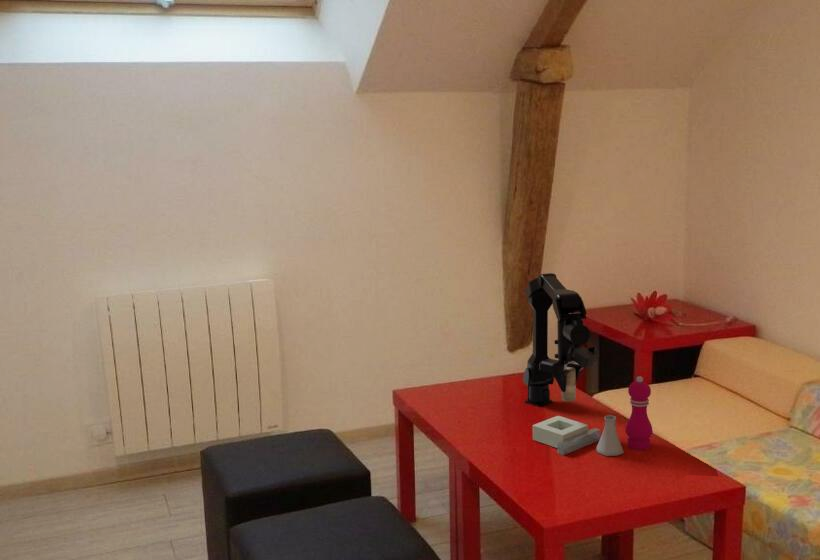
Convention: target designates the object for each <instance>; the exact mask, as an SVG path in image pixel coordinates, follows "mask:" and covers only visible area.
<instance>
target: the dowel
mask: <svg viewBox="0 0 820 560" xmlns="http://www.w3.org/2000/svg"><path fill="white" fill-rule="evenodd" d="M567 370H570V372H569V373H568V374H567V378H566V391H565V392H562V391H561V390H560V391H561V401H563V402H568V403H569V402H571V403H572V402H575V401H576V400H577V399H576V398H577V395H576V386H577V384H576V372H575V368H572V367H567Z"/></svg>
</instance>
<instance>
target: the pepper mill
mask: <svg viewBox="0 0 820 560" xmlns="http://www.w3.org/2000/svg"><path fill="white" fill-rule="evenodd" d="M635 379H636V381H633V382H632V383H630V384H629V385H628V390H627V391H628V392H627V393H628V395H629V396H630V398H629V400H630V401H629V403H630V405H631V415H630V416H629V419H628V421H627V423H626V426H625V434H626V436H628V437H627V439H626V441H627V442H626V444H627V447H628V448H631V449H633V450H641V451H642V450H643V451H644V450H647V449H649V448H650V447H651V445H652V444H651V443H652V441H651V439H650V437H651V436H653V433H654V431H653V426H652V424H651V421H650V419H649V417H648V406H649V404H650V403H649V402H650V399H649V397H650V396H651V394H652V391H651V389H652V388H651V386H650V385H649V384H648V383H647V382H645V381H644V377H642V376H640V375H638V376H637V377H636V378H635Z"/></svg>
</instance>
